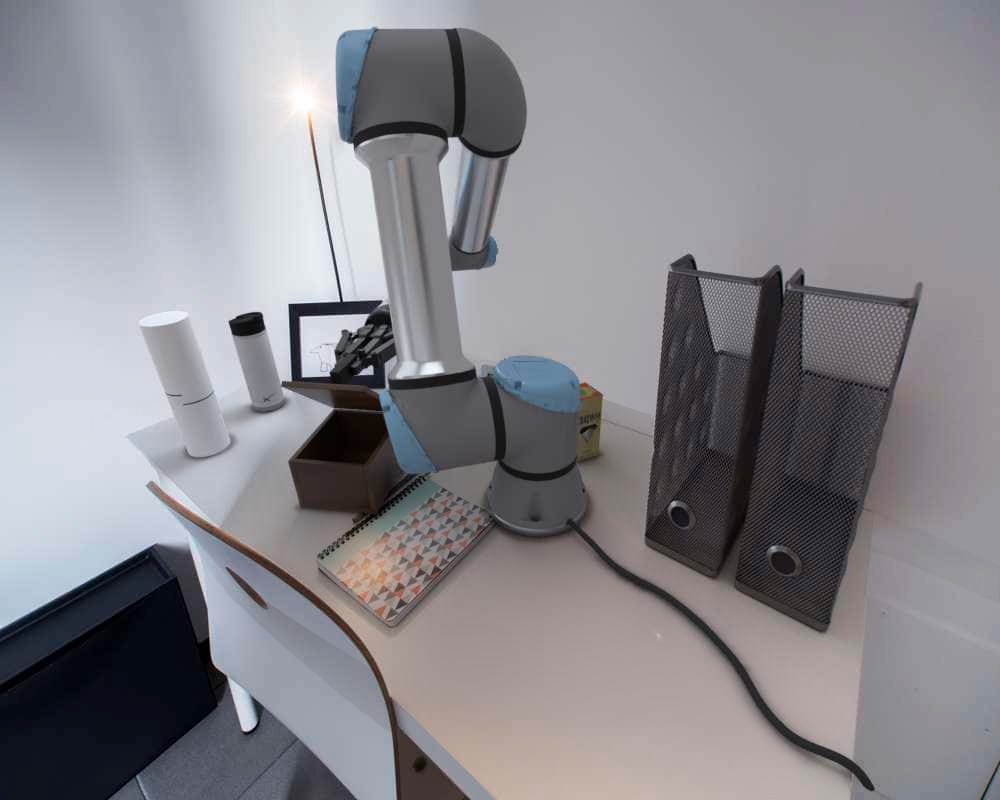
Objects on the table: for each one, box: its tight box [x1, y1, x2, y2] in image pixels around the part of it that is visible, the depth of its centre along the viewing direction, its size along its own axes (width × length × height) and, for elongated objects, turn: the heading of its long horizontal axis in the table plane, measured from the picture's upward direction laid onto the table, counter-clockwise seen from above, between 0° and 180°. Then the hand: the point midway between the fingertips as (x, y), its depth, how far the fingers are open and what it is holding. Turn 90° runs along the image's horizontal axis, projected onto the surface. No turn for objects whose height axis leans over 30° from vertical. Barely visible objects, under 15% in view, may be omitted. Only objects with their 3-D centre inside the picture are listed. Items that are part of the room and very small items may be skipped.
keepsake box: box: [287, 408, 403, 516], centre depth 86 cm, size 16×13×9 cm
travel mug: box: [228, 311, 286, 413], centre depth 106 cm, size 6×7×20 cm
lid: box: [280, 380, 383, 412], centre depth 82 cm, size 16×13×1 cm
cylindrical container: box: [138, 310, 231, 458], centre depth 92 cm, size 7×7×25 cm
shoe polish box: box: [577, 382, 604, 463], centre depth 90 cm, size 5×5×12 cm
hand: (335, 380), depth 78 cm, fingers closed
